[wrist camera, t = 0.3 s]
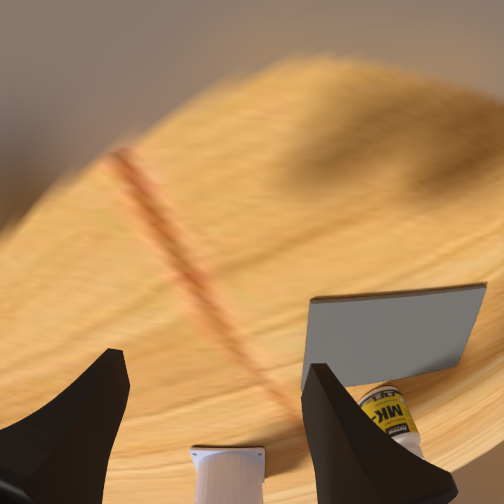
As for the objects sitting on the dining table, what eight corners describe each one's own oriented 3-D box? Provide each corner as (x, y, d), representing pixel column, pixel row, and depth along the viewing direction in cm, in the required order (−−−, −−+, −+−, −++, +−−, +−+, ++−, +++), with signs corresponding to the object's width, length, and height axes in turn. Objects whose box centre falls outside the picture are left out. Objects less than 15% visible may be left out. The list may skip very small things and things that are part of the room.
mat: (454, 362, 26) (456, 366, 25) (300, 387, 26) (301, 391, 25) (483, 284, 22) (486, 287, 22) (309, 300, 22) (311, 304, 21)
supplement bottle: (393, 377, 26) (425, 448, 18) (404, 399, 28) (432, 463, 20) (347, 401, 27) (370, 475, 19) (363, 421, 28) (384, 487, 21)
